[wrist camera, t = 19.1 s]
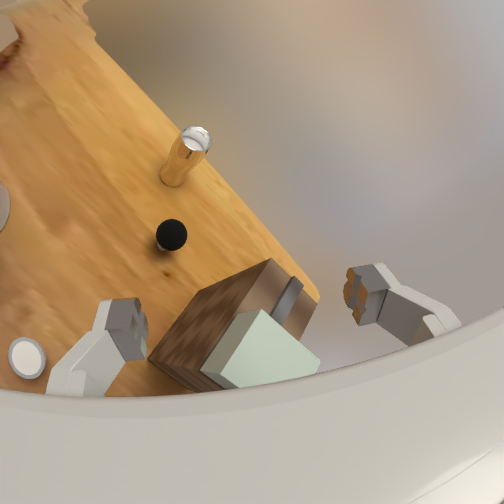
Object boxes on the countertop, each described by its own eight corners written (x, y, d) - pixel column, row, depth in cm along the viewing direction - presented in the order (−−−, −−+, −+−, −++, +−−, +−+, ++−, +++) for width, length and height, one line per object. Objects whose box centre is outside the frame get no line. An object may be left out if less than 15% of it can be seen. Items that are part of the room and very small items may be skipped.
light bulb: (175, 260, 60) (192, 246, 52) (148, 259, 57) (161, 244, 49) (174, 233, 62) (191, 215, 54) (148, 231, 59) (160, 212, 51)
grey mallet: (187, 526, 22) (205, 547, 18) (111, 493, 19) (119, 516, 15) (293, 361, 36) (320, 361, 32) (237, 314, 34) (261, 308, 30)
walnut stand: (186, 388, 53) (262, 414, 32) (147, 358, 51) (198, 370, 30) (233, 320, 63) (321, 303, 42) (198, 290, 61) (274, 256, 40)
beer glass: (190, 185, 67) (218, 150, 55) (163, 191, 63) (187, 154, 51) (180, 160, 68) (205, 123, 56) (153, 165, 63) (175, 125, 51)
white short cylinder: (10, 351, 37) (0, 352, 31) (34, 330, 41) (27, 328, 35) (33, 382, 38) (26, 387, 32) (56, 360, 42) (53, 363, 36)
